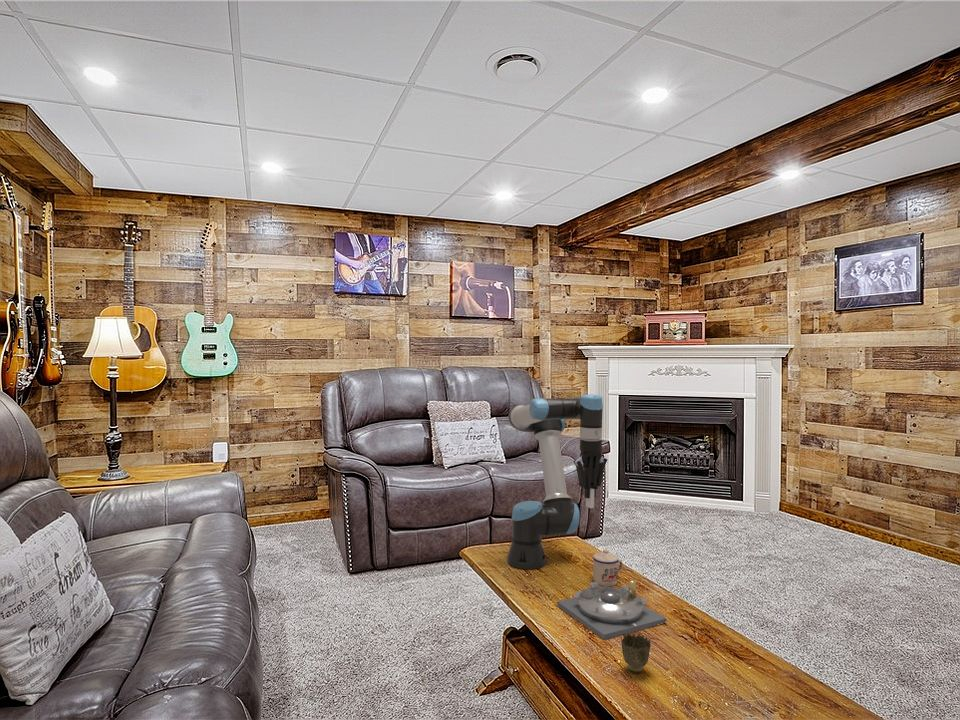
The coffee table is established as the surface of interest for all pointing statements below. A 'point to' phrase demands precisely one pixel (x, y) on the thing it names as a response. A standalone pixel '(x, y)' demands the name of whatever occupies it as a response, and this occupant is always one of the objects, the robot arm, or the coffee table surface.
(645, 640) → the cup
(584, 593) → the grey metal round disc
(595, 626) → the plate
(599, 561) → the teacup with lid
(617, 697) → the coffee table surface
